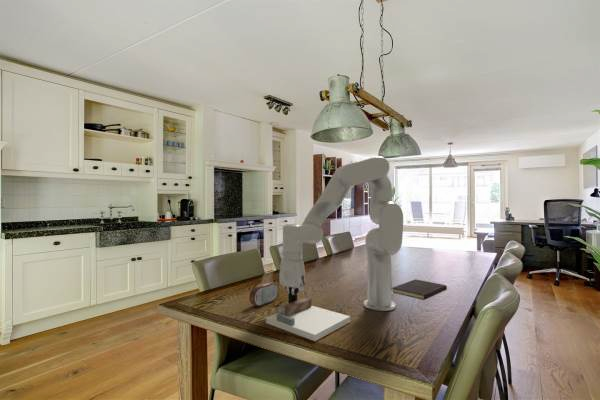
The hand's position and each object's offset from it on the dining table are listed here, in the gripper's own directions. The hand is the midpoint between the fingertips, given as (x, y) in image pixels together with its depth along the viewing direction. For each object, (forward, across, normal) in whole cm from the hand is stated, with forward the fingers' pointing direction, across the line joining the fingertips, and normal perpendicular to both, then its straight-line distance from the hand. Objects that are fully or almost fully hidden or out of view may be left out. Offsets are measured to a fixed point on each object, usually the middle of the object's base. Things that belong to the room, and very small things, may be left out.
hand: (292, 303), depth 121 cm
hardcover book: (+4, +26, +61) cm, 66 cm away
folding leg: (+1, +4, -3) cm, 5 cm away
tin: (+4, -16, 0) cm, 16 cm away
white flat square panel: (+3, +11, -4) cm, 12 cm away
